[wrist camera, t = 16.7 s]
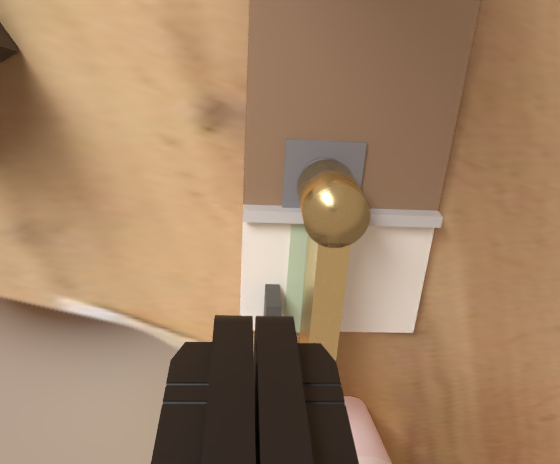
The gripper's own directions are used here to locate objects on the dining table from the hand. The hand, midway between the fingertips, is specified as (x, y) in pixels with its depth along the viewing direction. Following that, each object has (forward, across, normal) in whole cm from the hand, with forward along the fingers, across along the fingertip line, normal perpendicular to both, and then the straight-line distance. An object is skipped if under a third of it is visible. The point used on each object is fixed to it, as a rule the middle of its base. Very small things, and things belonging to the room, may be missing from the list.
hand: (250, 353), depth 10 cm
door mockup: (+25, -7, +5) cm, 26 cm away
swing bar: (+22, -5, +11) cm, 25 cm away
